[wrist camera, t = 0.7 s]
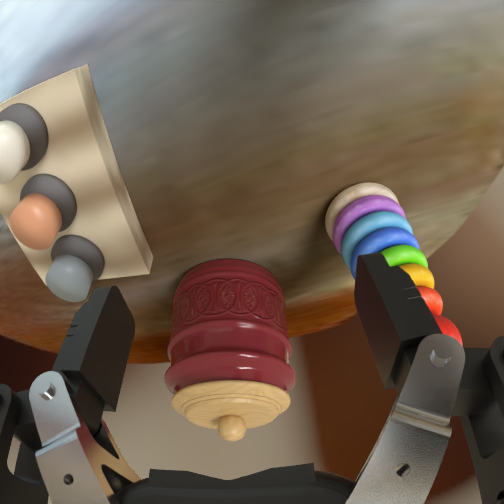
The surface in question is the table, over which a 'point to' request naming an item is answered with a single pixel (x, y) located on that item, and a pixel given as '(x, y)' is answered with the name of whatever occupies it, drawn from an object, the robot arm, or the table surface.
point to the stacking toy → (382, 239)
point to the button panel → (75, 178)
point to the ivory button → (12, 150)
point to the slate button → (69, 278)
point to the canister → (229, 347)
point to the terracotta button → (36, 221)
